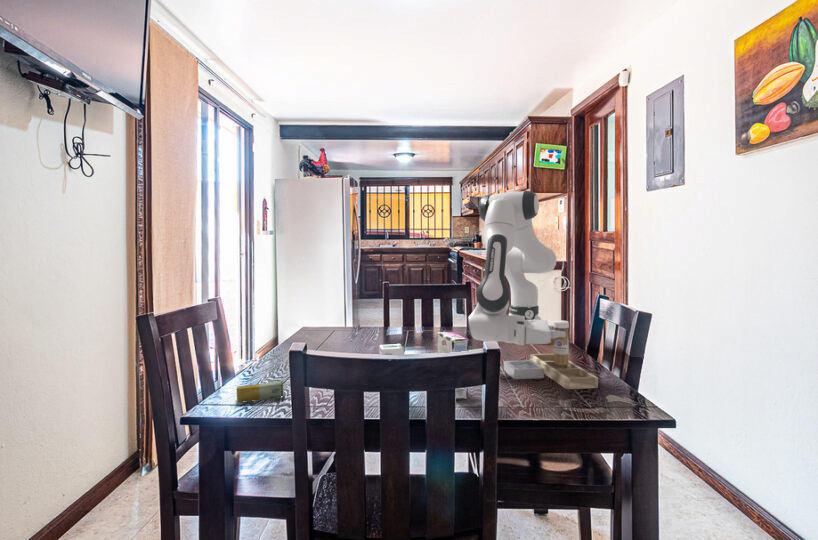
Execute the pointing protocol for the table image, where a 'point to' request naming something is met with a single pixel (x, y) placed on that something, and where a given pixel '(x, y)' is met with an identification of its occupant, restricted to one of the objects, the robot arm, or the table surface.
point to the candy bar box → (453, 344)
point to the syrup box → (391, 349)
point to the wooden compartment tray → (565, 373)
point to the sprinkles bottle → (561, 343)
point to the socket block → (523, 369)
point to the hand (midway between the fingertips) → (564, 332)
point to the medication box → (259, 391)
